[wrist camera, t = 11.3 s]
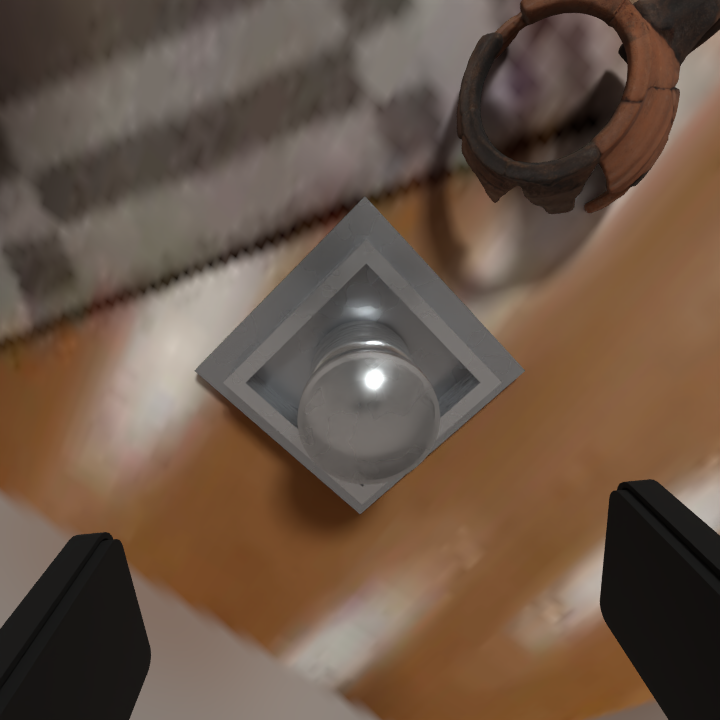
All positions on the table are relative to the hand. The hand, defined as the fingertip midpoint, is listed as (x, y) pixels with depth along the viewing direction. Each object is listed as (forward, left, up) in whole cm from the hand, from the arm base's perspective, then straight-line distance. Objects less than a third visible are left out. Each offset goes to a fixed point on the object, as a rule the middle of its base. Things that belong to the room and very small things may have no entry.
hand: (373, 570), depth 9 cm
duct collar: (+2, -1, -19) cm, 19 cm away
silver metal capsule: (+2, -1, -18) cm, 18 cm away
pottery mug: (-1, +16, -19) cm, 25 cm away
